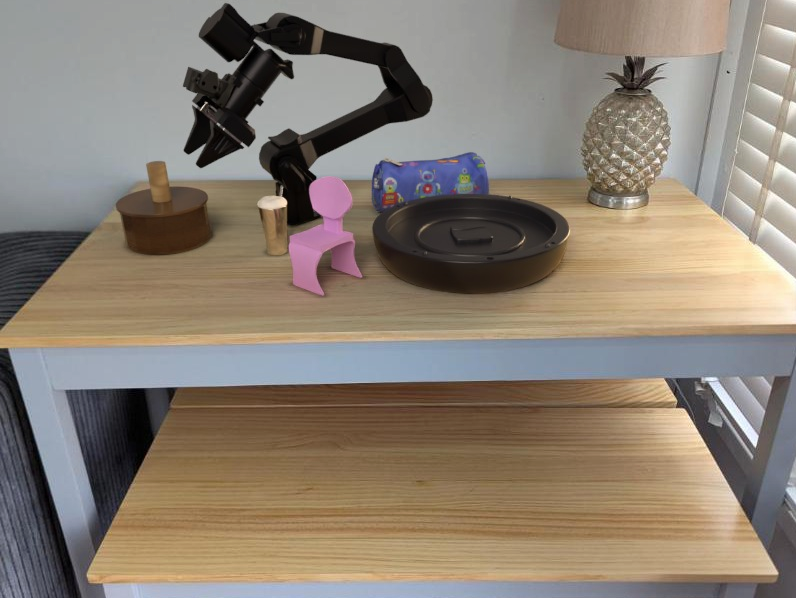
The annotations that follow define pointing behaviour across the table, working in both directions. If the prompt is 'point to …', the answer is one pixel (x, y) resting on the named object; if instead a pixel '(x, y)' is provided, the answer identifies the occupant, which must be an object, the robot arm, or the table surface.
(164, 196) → the lid
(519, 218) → the round tray
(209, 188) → the table surface
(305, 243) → the toy chair
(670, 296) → the table surface
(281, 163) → the robot arm
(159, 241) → the bowl
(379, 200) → the pencil case
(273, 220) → the milkshake
